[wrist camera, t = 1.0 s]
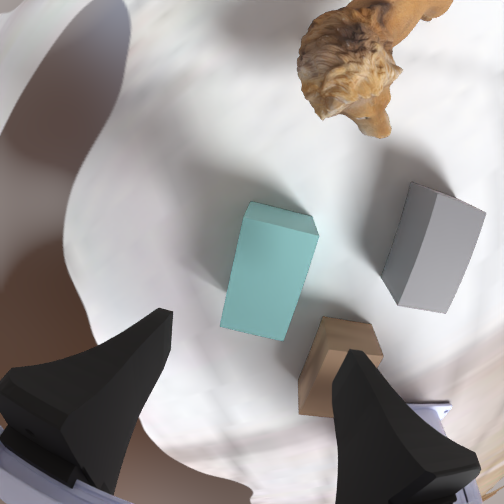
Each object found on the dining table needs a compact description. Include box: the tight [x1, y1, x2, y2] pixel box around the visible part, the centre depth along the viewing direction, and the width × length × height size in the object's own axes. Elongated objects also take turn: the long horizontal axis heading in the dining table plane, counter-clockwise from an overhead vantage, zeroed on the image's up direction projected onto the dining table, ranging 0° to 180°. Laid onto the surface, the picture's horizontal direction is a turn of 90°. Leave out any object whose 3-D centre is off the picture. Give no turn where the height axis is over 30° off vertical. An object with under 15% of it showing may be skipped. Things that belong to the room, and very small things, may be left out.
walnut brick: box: [298, 316, 384, 418], centre depth 21 cm, size 7×4×4 cm, turn 170°
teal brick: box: [220, 201, 319, 341], centre depth 19 cm, size 7×4×4 cm, turn 167°
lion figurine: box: [297, 0, 453, 139], centre depth 10 cm, size 15×5×9 cm, turn 147°
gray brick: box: [381, 182, 486, 314], centre depth 17 cm, size 7×4×4 cm, turn 170°
